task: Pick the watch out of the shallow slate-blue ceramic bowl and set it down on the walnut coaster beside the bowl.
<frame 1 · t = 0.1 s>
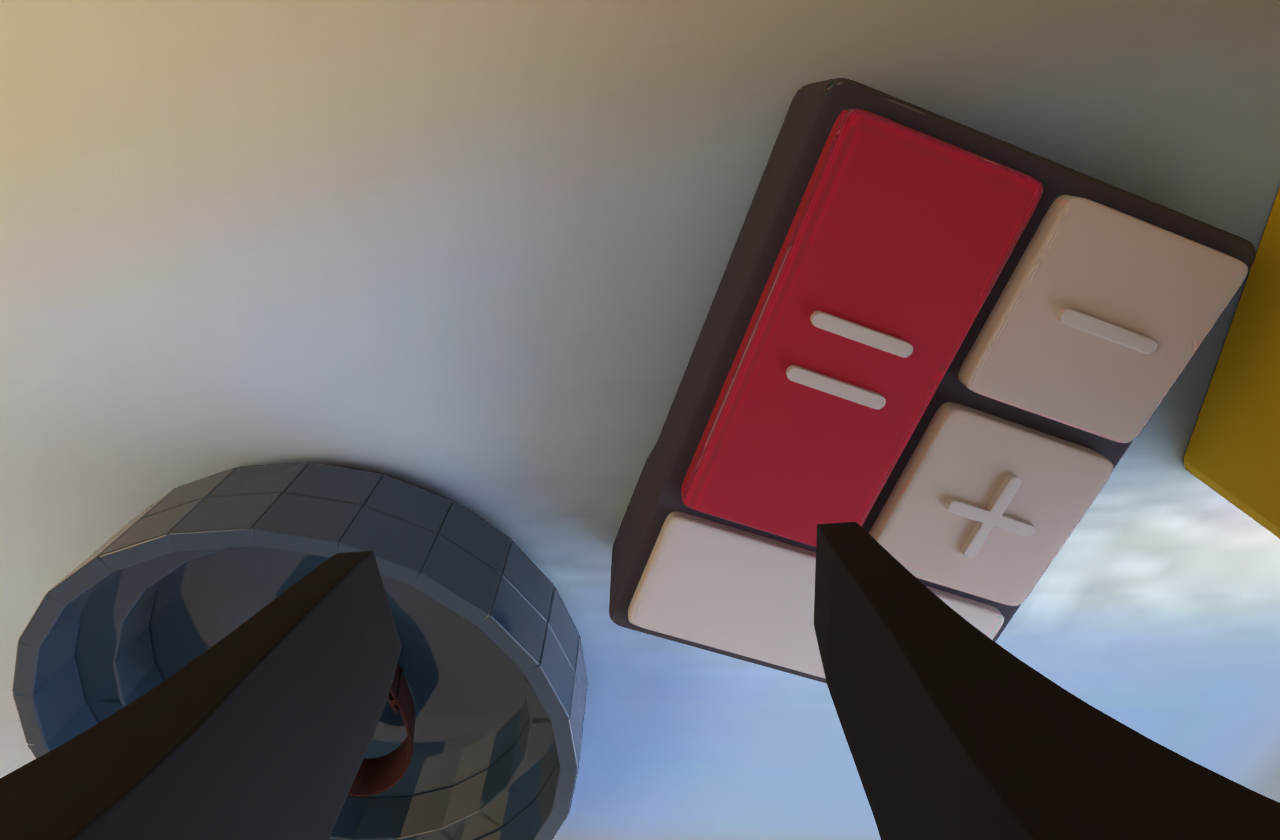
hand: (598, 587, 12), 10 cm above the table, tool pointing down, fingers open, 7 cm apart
calculator: (860, 402, 21), on the table
watch: (349, 666, 26), resting on bowl
bowl: (351, 662, 26), on the table
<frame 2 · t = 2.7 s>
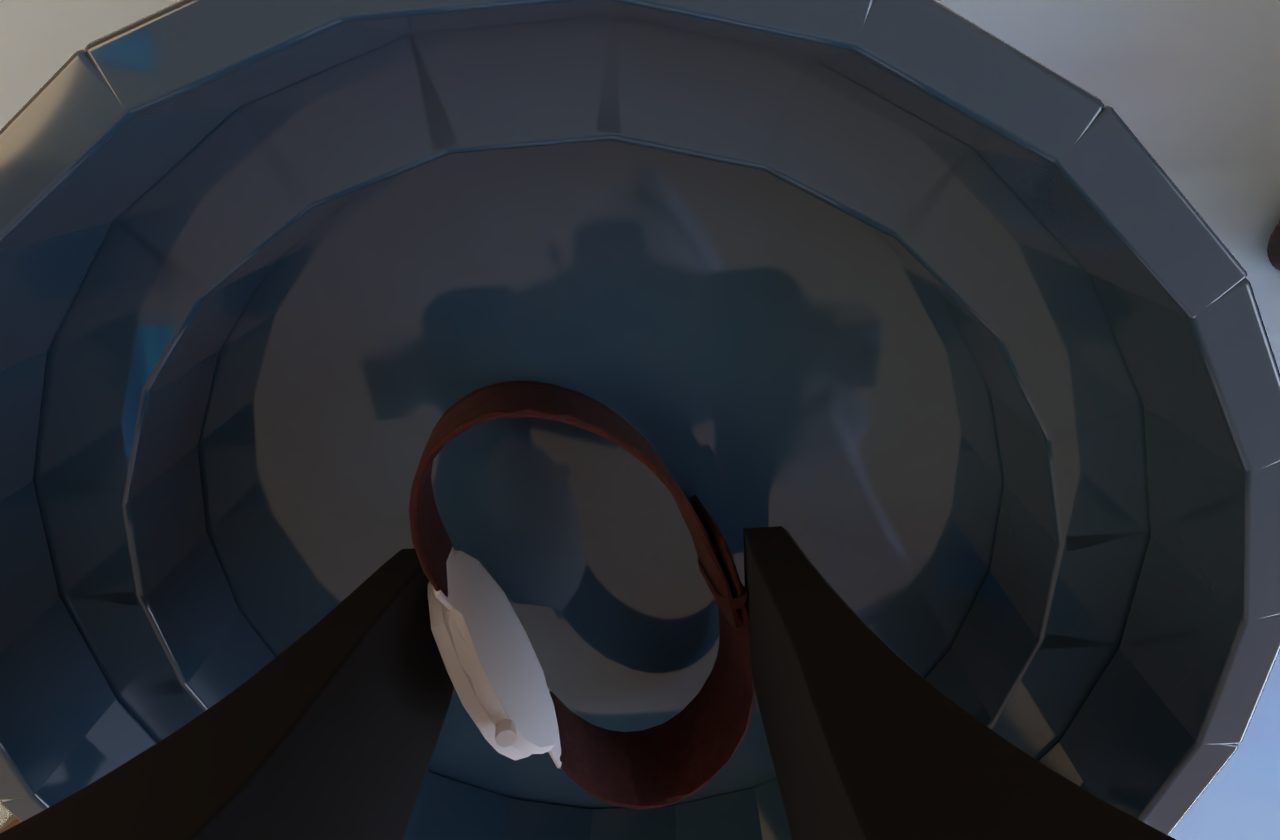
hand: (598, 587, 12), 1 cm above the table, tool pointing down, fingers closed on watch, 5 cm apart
watch: (600, 543, 13), resting on bowl, touching gripper
bowl: (602, 536, 13), on the table
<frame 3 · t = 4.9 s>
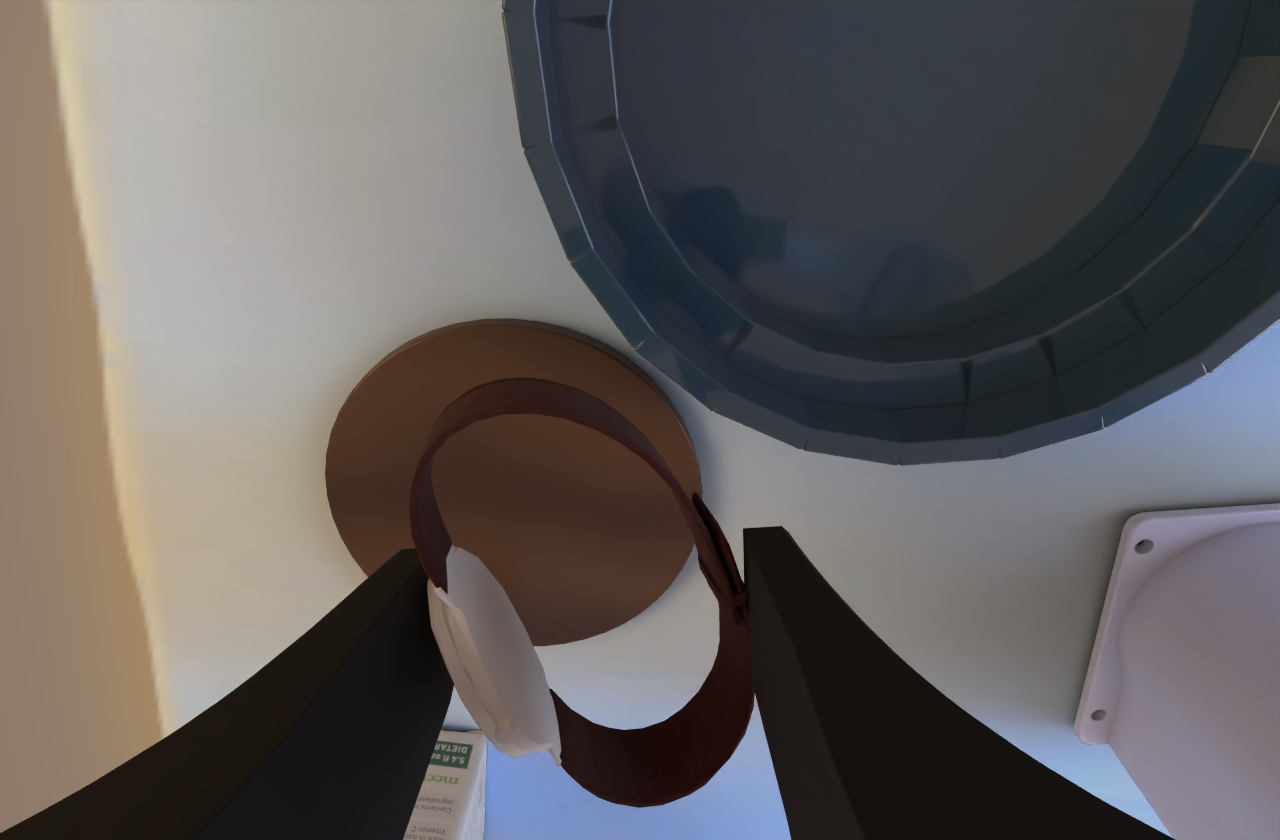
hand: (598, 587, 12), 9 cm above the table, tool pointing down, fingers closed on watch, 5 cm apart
coaster: (517, 494, 21), on the table
syrup box: (415, 770, 27), on the table
watch: (600, 541, 13), point 8 cm above the table, touching gripper
bowl: (919, 43, 16), on the table
when the fingers open (2 cm above the table, at t = 7.6 s): watch stays where it is, resting on coaster.
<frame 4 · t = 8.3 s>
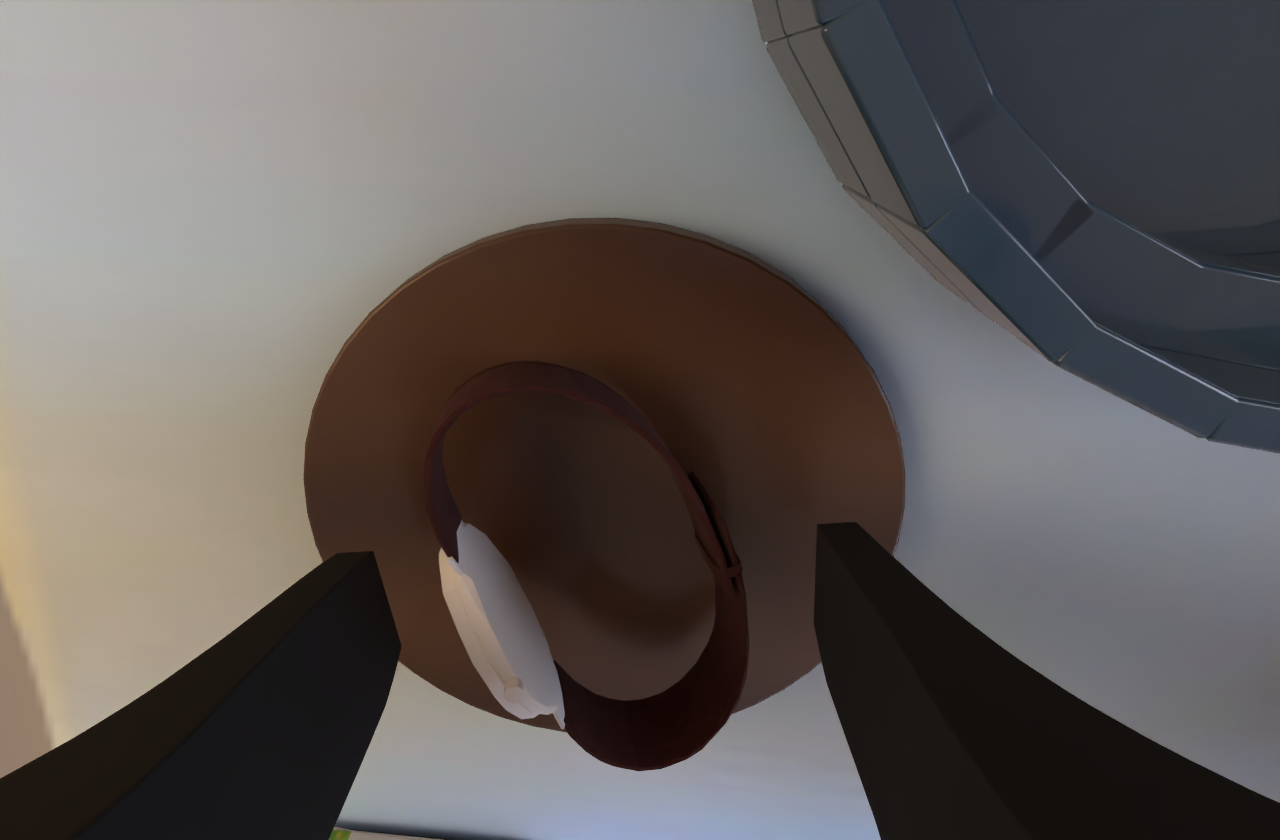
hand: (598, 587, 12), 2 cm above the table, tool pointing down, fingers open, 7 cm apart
coaster: (605, 509, 14), on the table
watch: (601, 519, 13), resting on coaster
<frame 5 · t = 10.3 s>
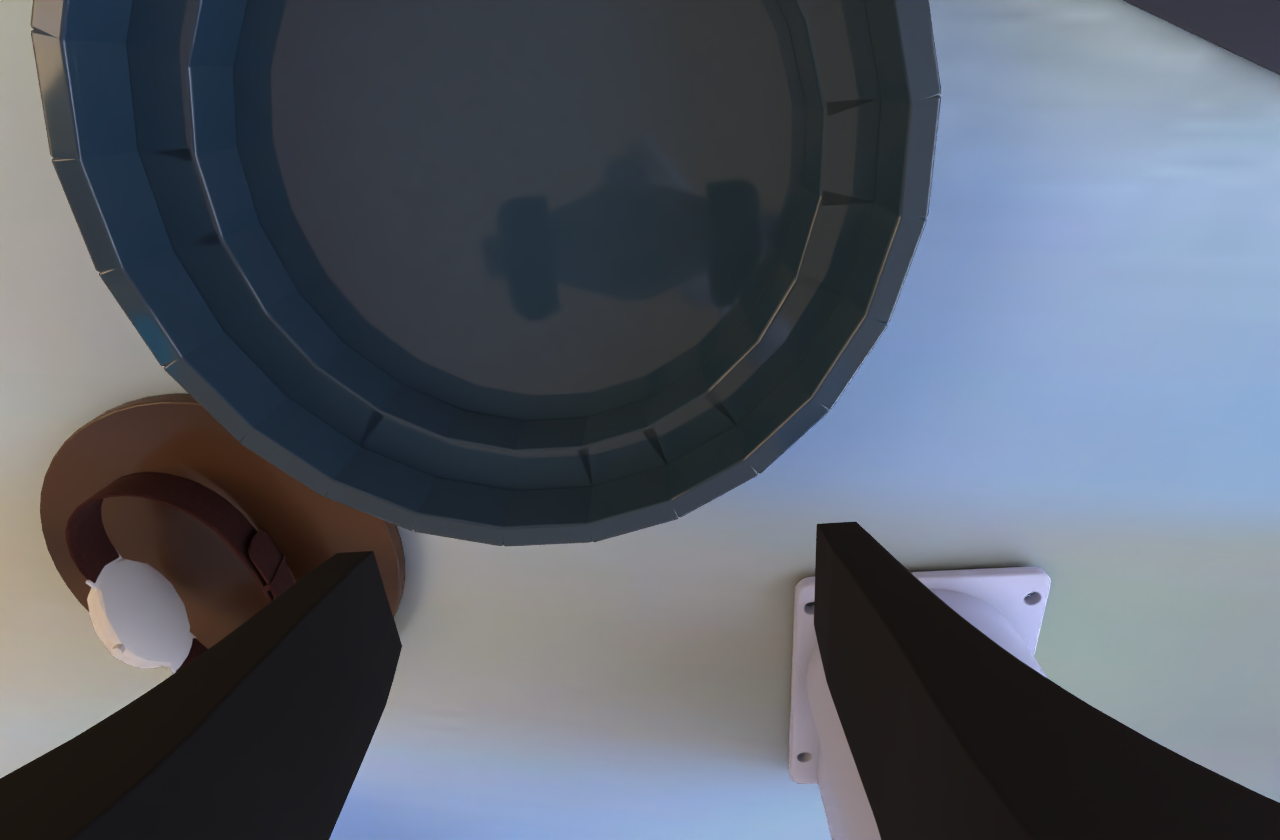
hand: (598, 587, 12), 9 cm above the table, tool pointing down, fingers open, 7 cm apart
coaster: (233, 548, 23), on the table
watch: (225, 555, 22), resting on coaster
bowl: (525, 165, 18), on the table
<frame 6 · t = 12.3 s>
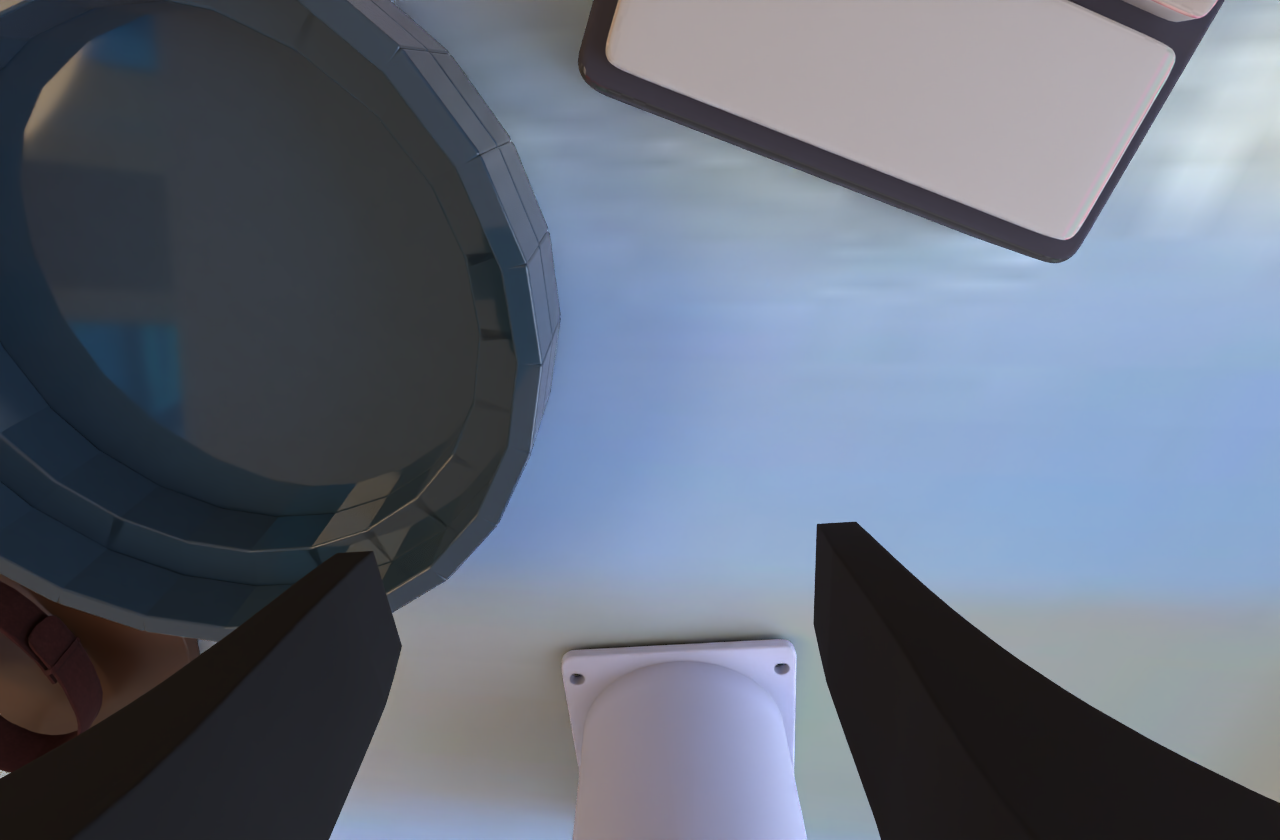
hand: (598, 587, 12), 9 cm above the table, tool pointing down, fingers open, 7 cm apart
coaster: (37, 629, 24), on the table
watch: (26, 636, 24), resting on coaster
bowl: (242, 295, 19), on the table
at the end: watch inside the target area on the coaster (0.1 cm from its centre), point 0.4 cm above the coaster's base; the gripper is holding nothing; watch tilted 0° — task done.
